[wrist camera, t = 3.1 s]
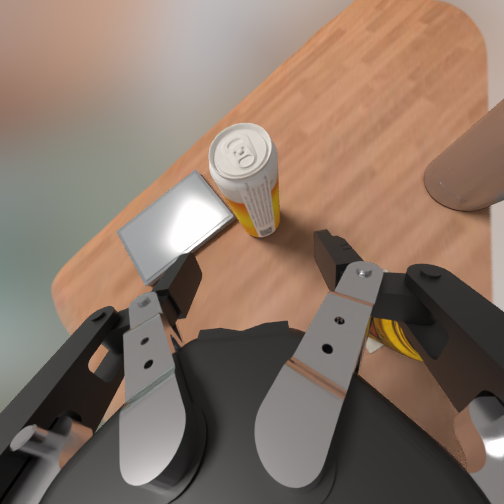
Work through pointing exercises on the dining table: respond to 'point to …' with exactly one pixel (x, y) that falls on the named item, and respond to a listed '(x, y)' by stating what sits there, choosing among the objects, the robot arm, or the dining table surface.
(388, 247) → the dining table surface
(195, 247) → the grey flat slab
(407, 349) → the condiment
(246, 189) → the beer can
